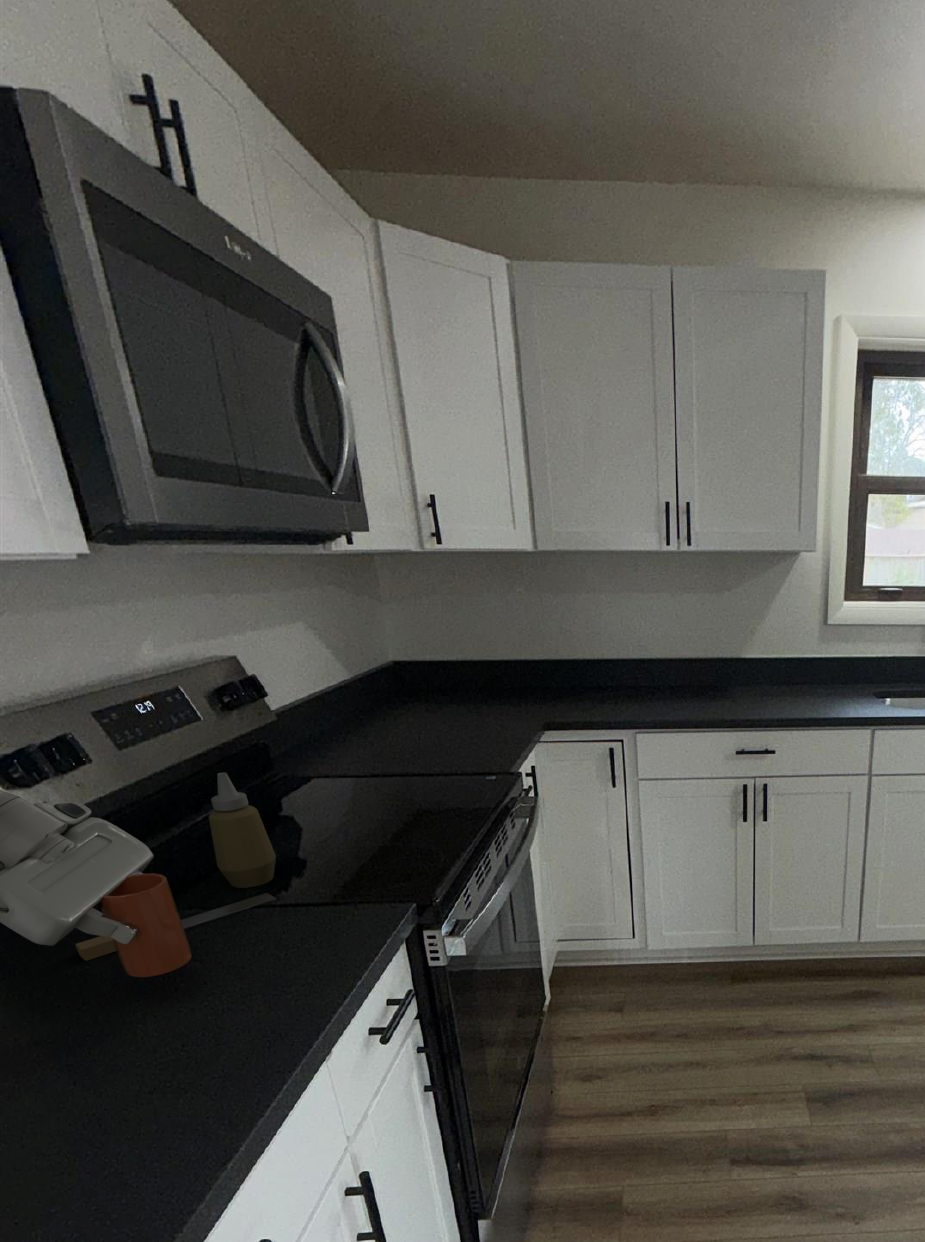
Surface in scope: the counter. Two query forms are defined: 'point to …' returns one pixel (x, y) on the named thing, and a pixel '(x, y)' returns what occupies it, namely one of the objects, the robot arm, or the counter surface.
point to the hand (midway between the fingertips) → (150, 921)
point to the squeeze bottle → (240, 838)
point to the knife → (107, 945)
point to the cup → (148, 925)
